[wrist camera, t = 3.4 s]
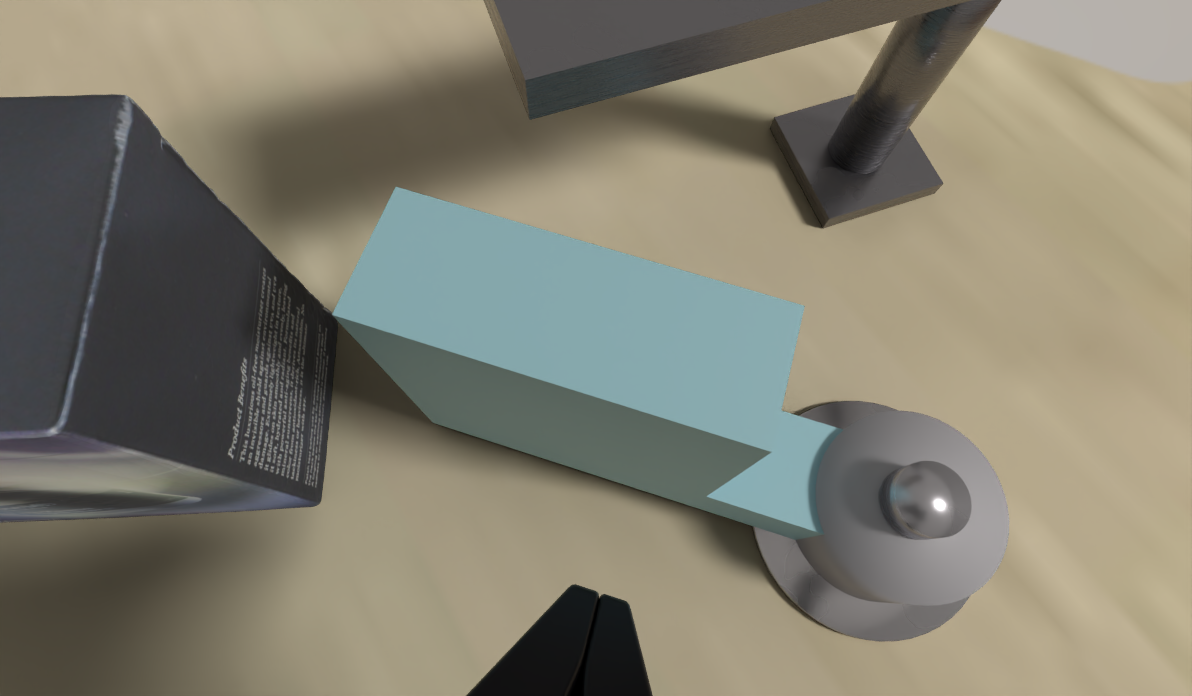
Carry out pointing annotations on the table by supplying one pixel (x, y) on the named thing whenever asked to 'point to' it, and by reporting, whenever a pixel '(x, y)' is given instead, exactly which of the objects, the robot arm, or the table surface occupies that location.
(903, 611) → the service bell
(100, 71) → the table surface
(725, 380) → the link
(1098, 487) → the table surface
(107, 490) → the small box
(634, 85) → the keeper
